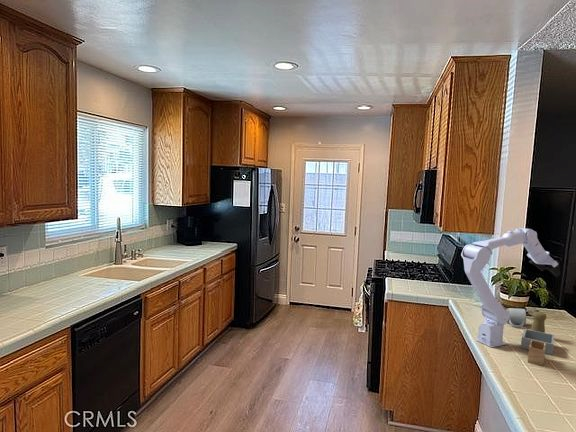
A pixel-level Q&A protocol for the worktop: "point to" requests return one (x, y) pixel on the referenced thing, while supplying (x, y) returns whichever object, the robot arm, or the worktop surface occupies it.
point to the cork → (539, 322)
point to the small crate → (536, 352)
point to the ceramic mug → (516, 317)
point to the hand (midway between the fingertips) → (550, 272)
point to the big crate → (540, 337)
